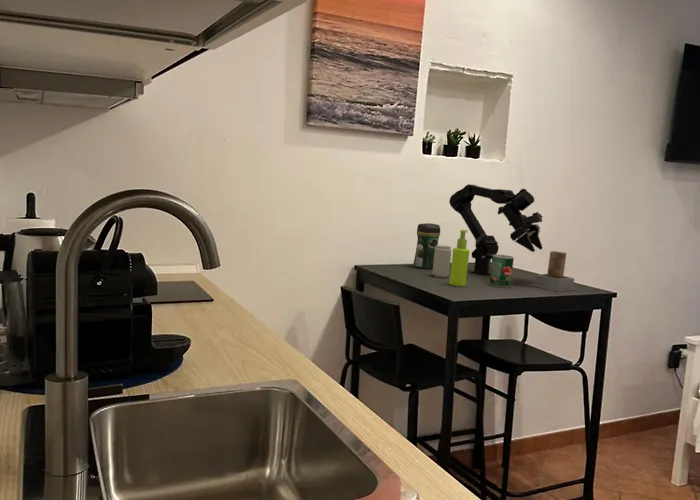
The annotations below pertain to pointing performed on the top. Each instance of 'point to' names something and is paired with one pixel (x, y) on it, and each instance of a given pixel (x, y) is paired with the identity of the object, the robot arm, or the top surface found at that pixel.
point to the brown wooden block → (556, 264)
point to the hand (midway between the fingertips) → (537, 250)
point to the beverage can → (442, 261)
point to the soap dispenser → (459, 262)
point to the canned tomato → (501, 270)
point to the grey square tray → (554, 283)
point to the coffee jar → (426, 245)
